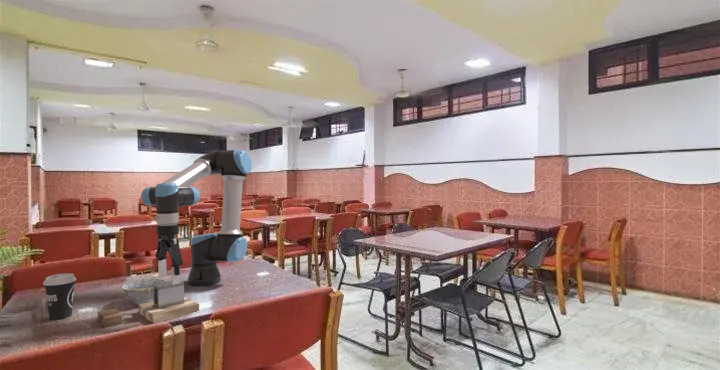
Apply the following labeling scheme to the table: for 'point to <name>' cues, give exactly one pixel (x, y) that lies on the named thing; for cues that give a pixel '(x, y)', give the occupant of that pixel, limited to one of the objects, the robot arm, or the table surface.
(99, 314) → the stand
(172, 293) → the housing
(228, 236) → the robot arm
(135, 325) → the table surface
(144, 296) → the bowl
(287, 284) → the table surface
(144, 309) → the plate
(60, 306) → the coffee cup
